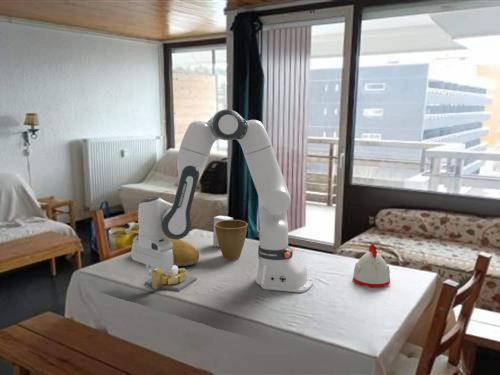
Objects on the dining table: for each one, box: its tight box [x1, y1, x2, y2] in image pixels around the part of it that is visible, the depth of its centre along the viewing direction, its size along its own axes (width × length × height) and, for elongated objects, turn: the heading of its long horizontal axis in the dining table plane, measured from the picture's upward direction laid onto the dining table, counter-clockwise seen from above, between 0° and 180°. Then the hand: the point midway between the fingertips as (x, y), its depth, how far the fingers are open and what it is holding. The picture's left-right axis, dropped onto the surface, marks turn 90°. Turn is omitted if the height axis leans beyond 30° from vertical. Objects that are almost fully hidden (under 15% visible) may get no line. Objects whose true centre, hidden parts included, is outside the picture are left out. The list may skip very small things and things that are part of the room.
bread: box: [164, 235, 200, 267], centre depth 193 cm, size 18×35×10 cm, turn 59°
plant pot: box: [215, 219, 248, 261], centre depth 193 cm, size 15×15×16 cm
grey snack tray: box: [144, 265, 198, 292], centre depth 165 cm, size 16×12×6 cm
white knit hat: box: [352, 243, 391, 289], centre depth 165 cm, size 14×14×15 cm
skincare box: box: [212, 215, 234, 248], centre depth 211 cm, size 8×6×15 cm
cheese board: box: [151, 267, 187, 290], centre depth 163 cm, size 16×11×6 cm
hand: (151, 276), depth 159 cm, fingers closed
